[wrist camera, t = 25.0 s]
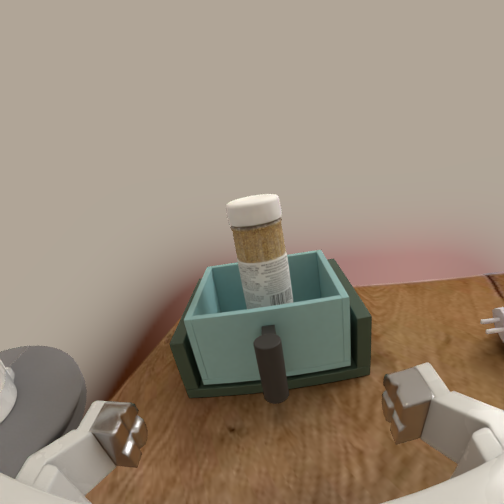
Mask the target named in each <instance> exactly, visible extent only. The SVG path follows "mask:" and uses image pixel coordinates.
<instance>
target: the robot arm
mask: <svg viewBox="0 0 504 504" xmlns="http://www.w3.org/2000/svg"><path fill="white" fill-rule="evenodd" d="M14 376H15V373H14V372H13V370H12V369H11V368H10V367H6V368H5V366H4V365H3V363H2V361H1V360H0V423H1V422H2V421H3V420H4V419H5V418H6V417H7V416H8V414H9V413H10V411H11V410H12V408H13V406H14V404H15V401H16V398H17V388H16V386H15V384H14ZM383 385H384V387H385V389H386V390H385V391H384V393H383V394H382V409H383V413H384V416H385V419H386V421H388V422H390V423H391V428H390V431H391V434H392V436H393V438H394V441H395V443H396V445H397V444H401V443H404V442H408V441H411V440H415V439H418V438H421V440H423V441H424V442H426V443H427V444H429V445H430V446H432V447H433V448H435V449H436V450H438V451H439V452H441V453H442V454H444V455H445V456H447V457H448V458H450V459H451V460H453V461H454V462H456V463H457V464H458V465H457V467H456V469H455V471H454V473H453V475H452V476H451V478H450V480H447V481H445V482H442V483H440V484H437V485H435V486H432V487H430V488H427V489H424V490H421V491H419V492H416V493H413V494H410V495H407V496H404V497H401V498H397V499H394V500H391V501H387V502H384V503H380V504H504V410H501V409H498V408H496V407H493V406H491V405H488V404H485V403H483V402H480V401H478V400H475V399H473V398H470V397H468V396H465V395H463V394H460V393H458V392H455V391H453V392H450V391H449V390H448V388H447V387H446V385H445V384H444V382H443V381H442V380H441V378H440V377H439V375H438V374H437V373H436V371H435V370H434V368H433V367H432V366H431V364H430V363H428V362H427V363H424V364H421V365H417V366H414V367H411V368H408V369H404V370H401V371H397V372H393V373H390V374H386V375H385V377H384V382H383ZM137 414H138V409H137V407H136V405H135V404H133V403H127V402H112V401H95V402H93V403H92V405H91V407H90V408H89V410H88V412H87V413H86V415H85V417H84V418H83V420H82V422H81V423H80V425H79V427H78V428H77V430H72V431H70V432H69V433H67V434H66V435H64V436H62V437H61V438H59V439H57V440H56V441H54V442H53V443H51V444H49V445H48V446H46V447H44V448H43V449H41V450H39V451H38V452H36V453H34V454H33V455H31V456H29V457H28V458H27V460H26V462H25V463H24V465H23V467H22V468H21V470H20V472H19V473H18V475H17V476H16V478H15V479H13V478H11V477H9V476H6V475H4V474H2V473H0V504H92V503H91V502H90V501H89V500H88V499H87V498H86V497H85V495H86V494H87V493H88V492H89V491H91V490H92V489H93V488H94V487H95V486H96V485H97V484H98V483H99V482H100V481H102V480H103V479H104V478H105V477H106V476H107V475H108V474H109V473H110V472H111V471H112V470H113V469H115V468H116V466H125V467H135V468H137V467H138V464H139V461H140V458H141V455H142V452H141V450H140V448H141V447H143V446H144V445H145V444H146V441H147V436H148V430H147V426H146V424H145V422H144V420H143V419H142V418H140V417H139V416H138V415H137Z"/></svg>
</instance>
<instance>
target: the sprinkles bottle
mask: <svg viewBox="0 0 504 504" xmlns="http://www.w3.org/2000/svg"><path fill="white" fill-rule="evenodd" d="M226 211H227V217H228V222H229V225H231V230H232V231H233V236H234V242H235V247H236V253H237V261H238V266H239V272H240V277H241V282H242V287H243V292H244V297H245V302H246V307H247V309H253V308H260V307H267V306H274V305H281V304H288V303H293V295H292V287H291V280H290V272H289V265H288V258H287V252H286V250H285V245H284V238H283V233H282V226H281V220H282V219H281V216H282V212H281V205H280V200H279V197H278V196H277V195H275V194H264V195H263V194H262V195H254V196H248V197H244V198H240V199H236V200H233V201H231V202H229V203H227V205H226Z"/></svg>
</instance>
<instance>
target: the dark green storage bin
mask: <svg viewBox="0 0 504 504" xmlns="http://www.w3.org/2000/svg"><path fill="white" fill-rule="evenodd" d="M327 261H328V262H329V264H330V266H331V267H332V269H333V271H334V272H335V274H336V276H337V277H338V279H339V281H340V282H341V284H342V286H343V287H344V289H345V291H346V292H347V294H348V296H349V303H350V338H351V365H350V366H346V367H340V368H335V369H330V370H324V371H318V372H312V373H306V374H300V375H293V376H287V383H288V389H292V388H299V387H306V386H312V385H318V384H324V383H329V382H335V381H340V380H345V379H350V378H355V377H360V376H364V375H369V374H370V360H371V321H372V316H371V315H370V313H369V311H368V310H367V308H366V307H365V305H364V304H363V302H362V300H361V299H360V297H359V296H358V294H357V293H356V291H355V290H354V288H353V287H352V285H351V284H350V282H349V281H348V279H347V278H346V276H345V275H344V273H343V272H342V270H341V269H340V267H339V265H338V264H337V263H336V261H335V260H334V259H329V260H327ZM201 280H202V279H199V281H198V283H197V285H196V287H195V289H194V291H193V294H192V296H191V298H190V300H189V302H188V304H187V307H186V309H185V311H184V313H183V315H182V317H181V320H180V322H179V324H178V326H177V328H176V331H175V333H174V335H173V337H172V340H171V342H170V347H171V350H172V353H173V356H174V359H175V361H176V364H177V367H178V370H179V372H180V375H181V378H182V380H183V383H184V386H185V388H186V391H187V394H188V396H189V398H197V397H215V396H229V395H241V394H251V393H261V392H263V389H262V384H261V380H254V381H244V382H234V383H222V384H208V385H204V384H203V381H202V377H201V374H200V371H199V368H198V365H197V362H196V359H195V356H194V353H193V350H192V346H191V343H190V340H189V337H188V333H187V330H186V327H185V323H184V318H185V316H186V314H187V312H188V309H189V307H190V305H191V302H192V300H193V298H194V296H195V293H196V291H197V289H198V287H199V285H200V282H201Z"/></svg>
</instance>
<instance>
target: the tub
mask: <svg viewBox="0 0 504 504" xmlns="http://www.w3.org/2000/svg"><path fill="white" fill-rule="evenodd" d="M287 258H288V265H289V272H290V280H291V287H292V295H293V303H288V304H281V305H274V306H267V307H260V308H253V309H247V307H246V302H245V297H244V292H243V287H242V282H241V277H240V272H239V266H238V263H231V264H224V265H218V266H211V267H207V269H206V271H205V273H204V276H203V278H202V280H201V282H200V285H199V287H198V289H197V291H196V293H195V296H194V298H193V300H192V302H191V305H190V307H189V309H188V312H187V314H186V316H185V318H184V323H185V327H186V330H187V333H188V337H189V340H190V343H191V346H192V350H193V353H194V356H195V359H196V362H197V365H198V368H199V371H200V374H201V377H202V381H203V384H204V385H208V384H222V383H234V382H244V381H254V380H261V384H262V389H263V393H264V398H265V400H266V401H267V402H269V403H273V404H277V403H281V402H283V401H285V400H286V399H287V398H288V396H289V390H288V383H287V376H293V375H300V374H306V373H312V372H318V371H324V370H330V369H335V368H340V367H346V366H350V365H351V338H350V303H349V296H348V294H347V292H346V291H345V289H344V287H343V286H342V284H341V282H340V281H339V279H338V277H337V276H336V274H335V272H334V271H333V269H332V267H331V266H330V264H329V262H328V261H327V259H326V257H325V256H324V254H323V253H322V251H321V250H317V251H310V252H303V253H297V254H291V255H287Z"/></svg>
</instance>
